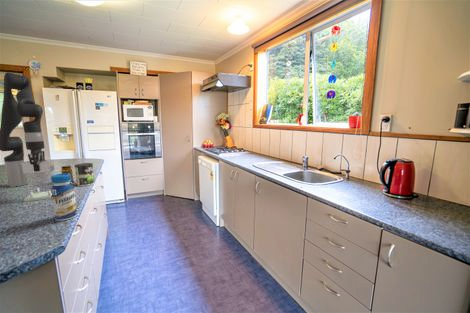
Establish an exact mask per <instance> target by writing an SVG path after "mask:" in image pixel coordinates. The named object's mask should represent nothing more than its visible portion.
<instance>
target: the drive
mask: <svg viewBox="0 0 470 313" xmlns="http://www.w3.org/2000/svg"><path fill="white" fill-rule="evenodd" d="M38 165H39V169H40V171H37V172H35V171H34V168H33V165H32V164H30V161H29V160H26V161H24V162H22V167H23V173H26V174H31V173H32V174H33V173H34V174H35V173H36V174H37V173H48V172H53V171H55V165H54V159H45V160H39V164H38Z"/></svg>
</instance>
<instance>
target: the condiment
mask: <svg viewBox="0 0 470 313" xmlns="http://www.w3.org/2000/svg"><path fill="white" fill-rule="evenodd" d="M64 173H68V174H70V176H71V181H70V183H71V182H73V180H74V176H73V170H72V166H71V165H63V166H61V174H64ZM73 183H74V182H73ZM71 184H72V183H71Z"/></svg>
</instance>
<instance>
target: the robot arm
mask: <svg viewBox="0 0 470 313" xmlns="http://www.w3.org/2000/svg"><path fill="white" fill-rule="evenodd" d="M12 90H16V91H18V92H17V93H16V94H15V96H14V94H13V93H12V92H13V91H12ZM43 112H44V111H43V108H42V106H41V105H40V104H37V103H36V101H35V100H34V96H33V90H32V82H31V79H30V78H29V77H28V76H26V75H22V74H18V73H13V72H9V71H8V72H5V73H4V76H3V98H2V107H1V117H0V118H1V119H0V120H1V121H0V151H1V152H11V153H10V154H8V155H6V156H4V157H3V162H4V166H5V171H6V177H7V182H8V183H7V184H8V187H9V188H15V187H16V186H18V187H23V186H26V184H27V185H28V184H29V181H28V176H27V173H23V167H22V162H25V159H24V158H25V152H24V143H23V142H25V147H26V148H25V149H26V150H28V151H29V150H30V153H28V154H27V157H28V161H30V164H32V165H33V168H34V171H35V172H36V173H38V172H37V171H40V169H39V165H38V164H39V160H46V157H45V156H46V155H45V150H43V149H45V147H46V146H45V140H44V135H43V133H42V125H41V124H42V116H43ZM23 118H34V119H32V120H28V121H25V122H23V125H22V126H23V132H24V141H23V140H22V139H21V137H19V136H11V134H12V132H13V131H14V130H15V129H16V128H17V127H18V126H19V125H20V124H21V123H22V121H23ZM22 185H23V186H22Z"/></svg>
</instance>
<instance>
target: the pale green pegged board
mask: <svg viewBox="0 0 470 313" xmlns="http://www.w3.org/2000/svg"><path fill="white" fill-rule="evenodd" d="M51 196H52V193H51V189H50V190H47V191H41V190H40V187H36V192H33V191H30V192H29V195H27V196H26V197H25V198H23V202H25V203H26V202H32V201H42V200H52V199H51Z"/></svg>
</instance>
